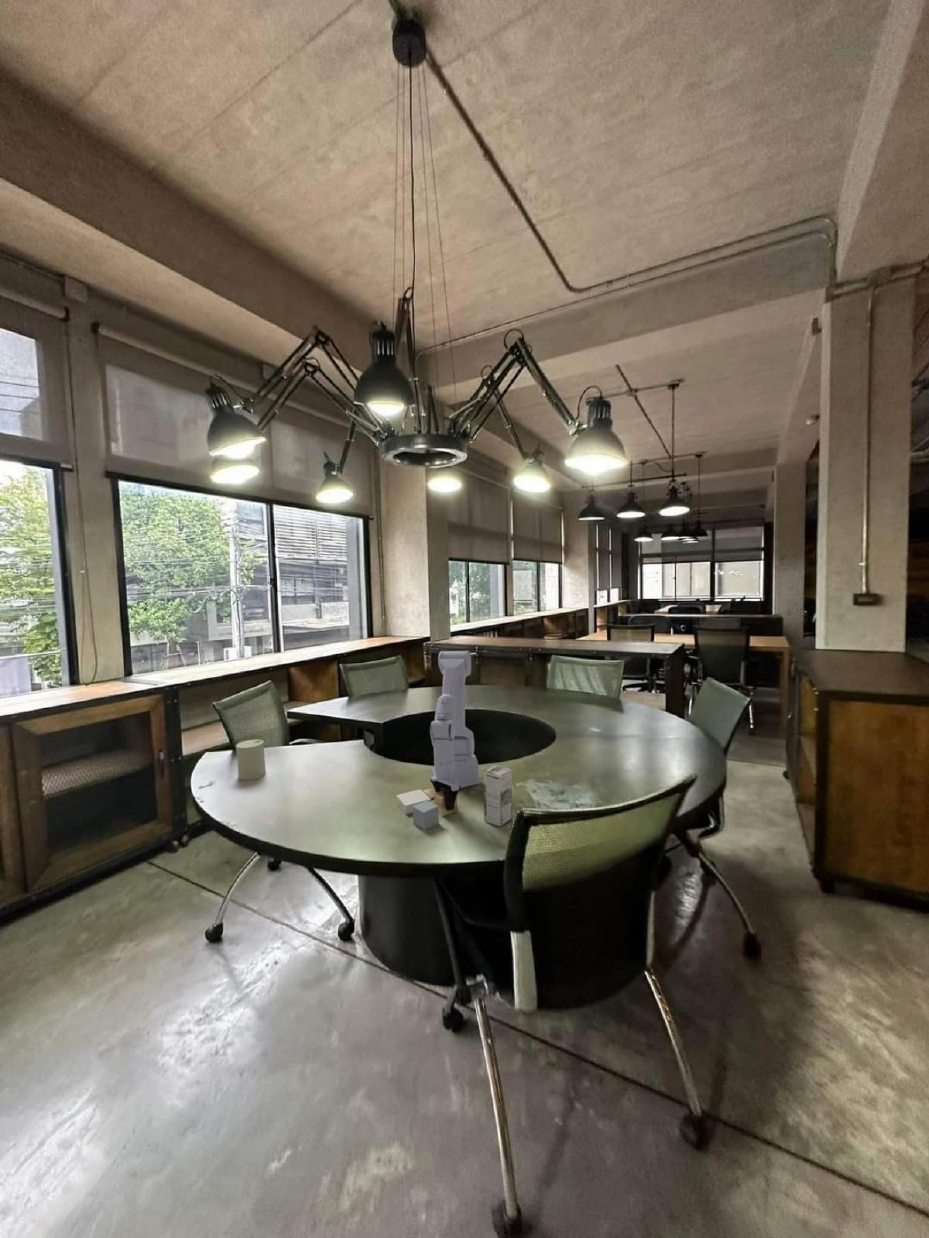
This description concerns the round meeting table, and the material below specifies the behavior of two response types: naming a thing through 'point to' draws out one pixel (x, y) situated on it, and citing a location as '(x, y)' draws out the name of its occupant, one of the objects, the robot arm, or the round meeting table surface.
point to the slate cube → (425, 815)
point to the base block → (411, 800)
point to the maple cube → (443, 804)
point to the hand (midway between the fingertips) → (445, 805)
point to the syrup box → (497, 795)
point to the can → (250, 759)
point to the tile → (430, 793)
